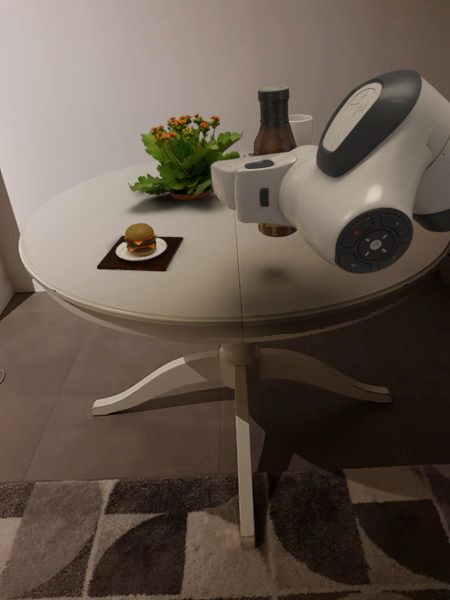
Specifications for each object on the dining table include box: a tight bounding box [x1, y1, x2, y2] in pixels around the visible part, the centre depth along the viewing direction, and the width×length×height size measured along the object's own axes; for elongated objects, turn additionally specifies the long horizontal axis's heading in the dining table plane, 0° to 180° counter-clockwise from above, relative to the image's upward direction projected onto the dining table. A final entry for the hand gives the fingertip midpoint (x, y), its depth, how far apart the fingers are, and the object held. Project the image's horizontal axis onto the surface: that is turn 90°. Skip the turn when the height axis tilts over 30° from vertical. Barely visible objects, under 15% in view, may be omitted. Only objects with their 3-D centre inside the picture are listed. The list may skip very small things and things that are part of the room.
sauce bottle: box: [253, 85, 298, 238], centre depth 65 cm, size 6×6×20 cm
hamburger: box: [96, 222, 184, 272], centre depth 81 cm, size 12×12×6 cm
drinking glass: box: [288, 113, 314, 147], centre depth 102 cm, size 7×7×15 cm
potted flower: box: [127, 113, 245, 201], centre depth 103 cm, size 25×24×18 cm
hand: (274, 155), depth 65 cm, fingers closed on sauce bottle, 6 cm apart
